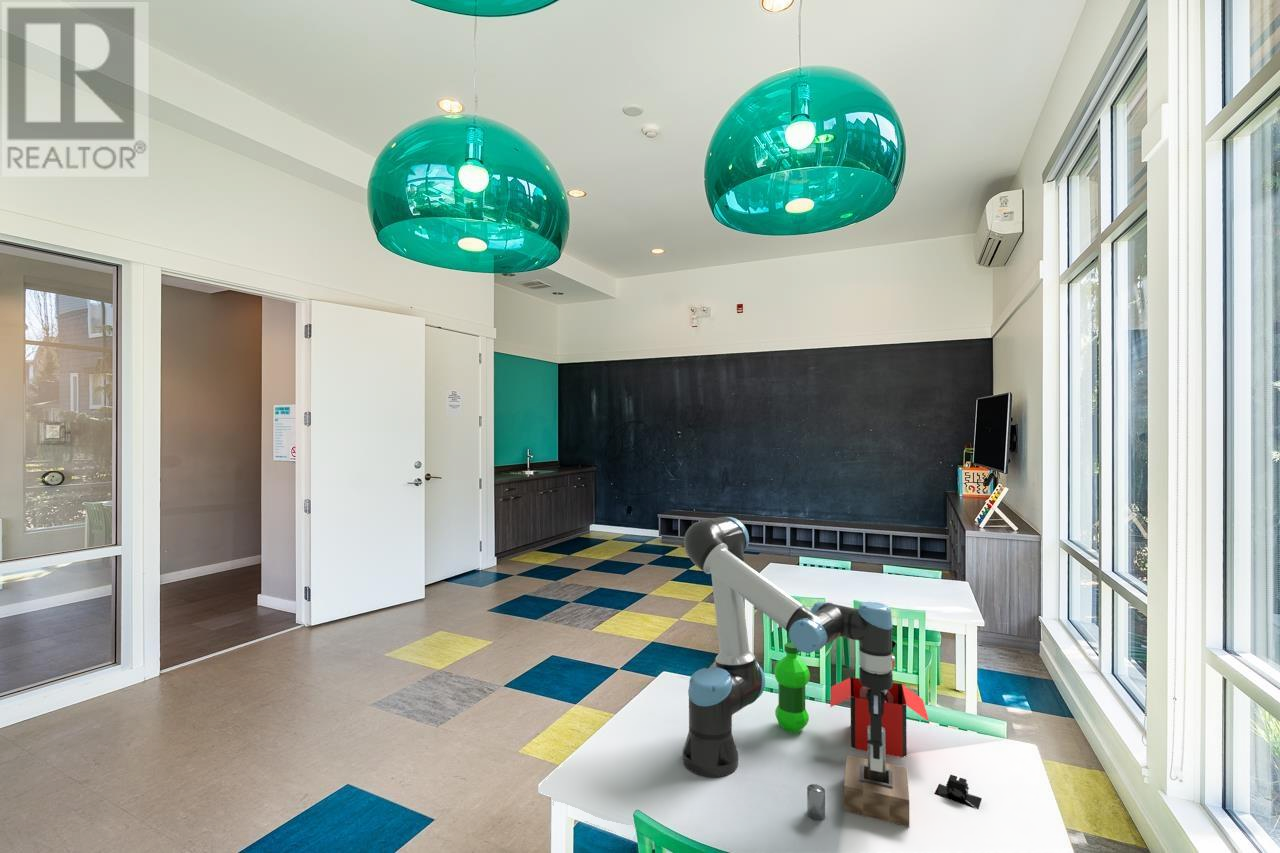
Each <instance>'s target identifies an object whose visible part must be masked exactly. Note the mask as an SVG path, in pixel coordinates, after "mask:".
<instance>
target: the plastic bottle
mask: <svg viewBox="0 0 1280 853" xmlns="http://www.w3.org/2000/svg"><path fill="white" fill-rule="evenodd" d="M784 652H785V653H786V654H785V656H784V657H783V658H781V659H780V660H779V661H777V662H776V663H775V665H774V668H773V673H774V676H775V680H776V681H777V683H778V705H777V707H776V709H775V710H774V711H775V717H776V720H777V723H778V724H779V725H780V726H781V727H782V728H783V729H784V730H785V731H786V732H789V733H800V731H801V730H803V728H805V727H806V726H807V724H808V722H809V720H810V719H809V717H810V716H809V714H808V710H807V708H806V685H807V684H808V683H809V682H810V678H811V672H810V670H809V668H808V666H807V664H806V663H805V662H804V661H803V660H801V658H799V657H798V654H799V653H800V651H799V650H798V649H796V648H795V647H794V645H793V643H792V642H786V643H784Z"/></svg>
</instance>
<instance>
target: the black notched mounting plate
mask: <svg viewBox="0 0 1280 853" xmlns="http://www.w3.org/2000/svg"><path fill="white" fill-rule="evenodd" d="M967 782H968V780H967V778H963V777H959V779H958V776H956V775H954V774H950V775H949V777H948V780H947V782H946V784H945V785H944V784H941V783H938V786H937V787H936V789H935V792H934V793H933V794H934V795H936V796H937V797H938V796H939V797H941V798H944V799H946V800H947V799H948V800H949V801H952V802H955V803H958V804H961V805H964V806H966V807H969V808H972V809H974V810H979V809H980V805H981V803H982V797H980V796H976V795H974V794H970V793H969V789H970V787H969V783H967Z"/></svg>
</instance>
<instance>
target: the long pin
mask: <svg viewBox="0 0 1280 853" xmlns="http://www.w3.org/2000/svg"><path fill="white" fill-rule="evenodd" d="M868 740H871V725H869V726H868ZM882 755H883V772H878V771H874V770H870V743H868V751H867V760H868V779H869V780H873V781H878V782H883V783H886V755H885V729H884V728H883V727H882Z"/></svg>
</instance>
